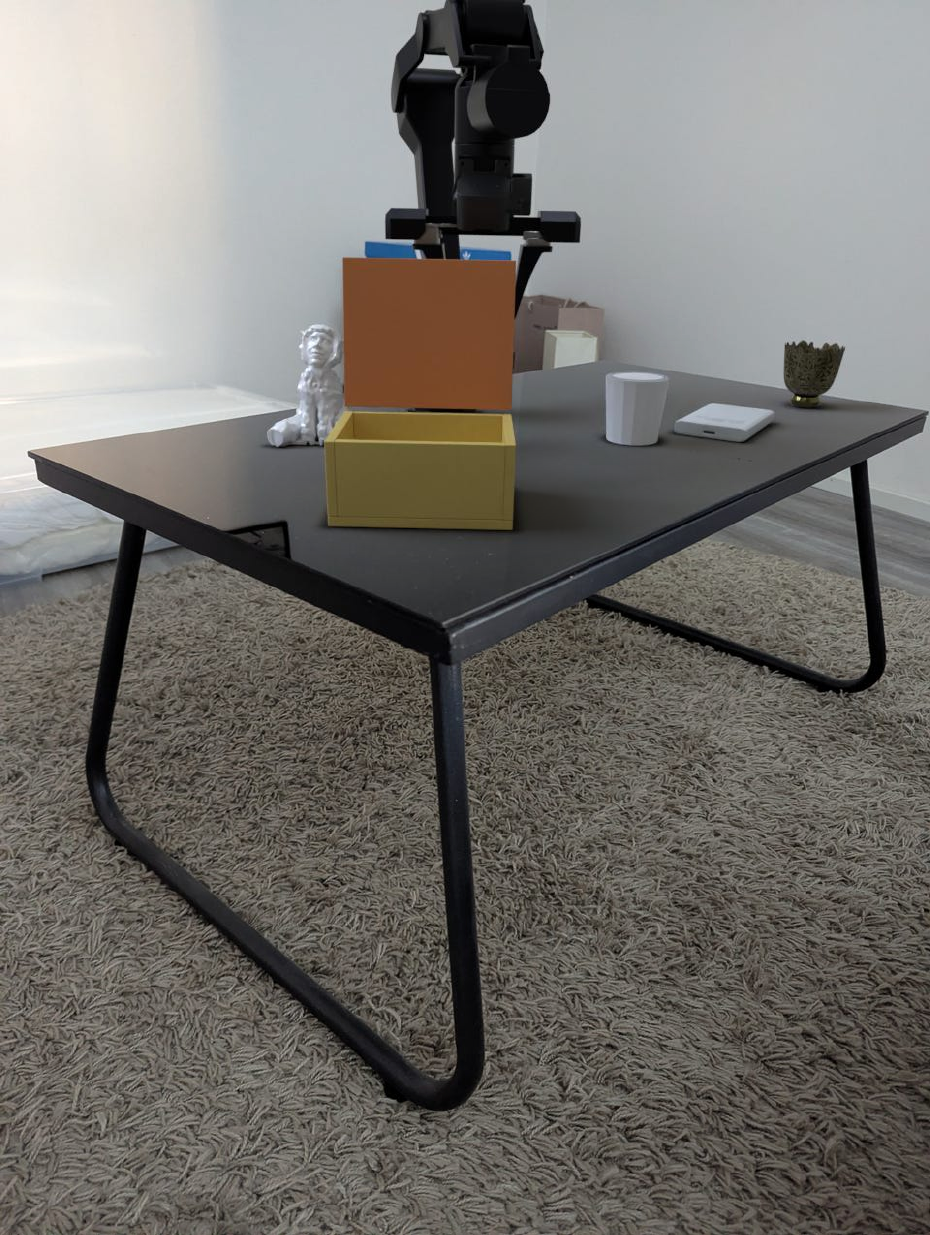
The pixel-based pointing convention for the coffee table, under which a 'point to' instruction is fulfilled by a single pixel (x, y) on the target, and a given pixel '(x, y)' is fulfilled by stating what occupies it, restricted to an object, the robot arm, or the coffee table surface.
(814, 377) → the cup
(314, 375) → the sitting furry creature
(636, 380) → the shot glass
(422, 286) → the lid
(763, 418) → the hard drive
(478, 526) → the open yellow box
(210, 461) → the coffee table surface
